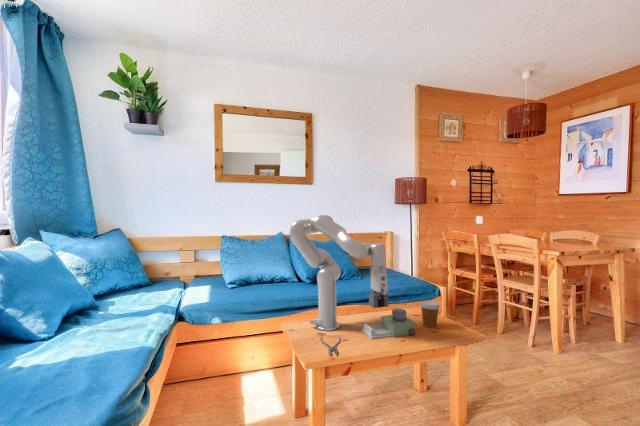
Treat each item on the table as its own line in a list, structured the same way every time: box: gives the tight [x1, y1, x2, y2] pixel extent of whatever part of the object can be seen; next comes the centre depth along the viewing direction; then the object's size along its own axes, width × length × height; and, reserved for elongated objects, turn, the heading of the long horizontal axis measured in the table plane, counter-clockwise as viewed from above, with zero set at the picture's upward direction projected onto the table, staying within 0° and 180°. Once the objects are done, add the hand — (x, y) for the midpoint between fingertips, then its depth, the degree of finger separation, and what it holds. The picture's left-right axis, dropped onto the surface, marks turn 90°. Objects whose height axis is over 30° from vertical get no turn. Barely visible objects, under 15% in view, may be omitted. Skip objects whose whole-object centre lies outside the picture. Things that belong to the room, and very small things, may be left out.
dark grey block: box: [368, 292, 389, 309], centre depth 148 cm, size 8×5×6 cm, turn 107°
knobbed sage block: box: [362, 308, 416, 340], centre depth 149 cm, size 23×14×10 cm, turn 107°
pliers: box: [320, 336, 341, 357], centre depth 135 cm, size 10×1×20 cm
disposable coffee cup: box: [420, 300, 440, 329], centre depth 158 cm, size 10×10×12 cm
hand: (378, 304), depth 148 cm, fingers closed on dark grey block, 5 cm apart
